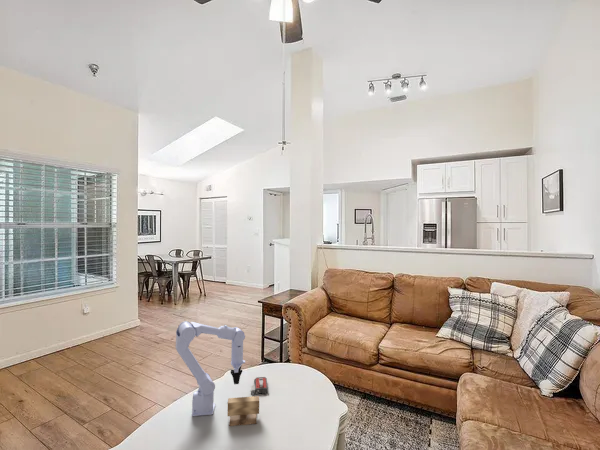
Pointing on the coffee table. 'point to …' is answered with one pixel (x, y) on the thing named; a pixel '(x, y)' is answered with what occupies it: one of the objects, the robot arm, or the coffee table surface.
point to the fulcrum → (243, 420)
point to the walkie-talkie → (259, 386)
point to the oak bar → (243, 406)
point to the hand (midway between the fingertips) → (236, 379)
